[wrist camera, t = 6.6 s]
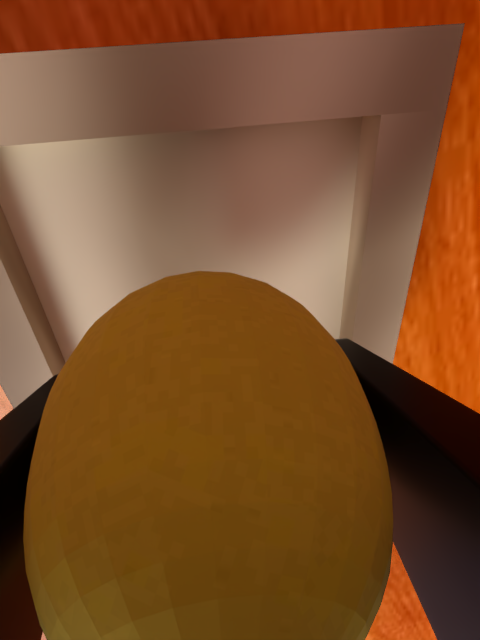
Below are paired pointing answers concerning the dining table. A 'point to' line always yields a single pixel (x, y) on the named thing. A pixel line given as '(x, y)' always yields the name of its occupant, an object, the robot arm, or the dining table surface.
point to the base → (215, 178)
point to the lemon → (207, 475)
